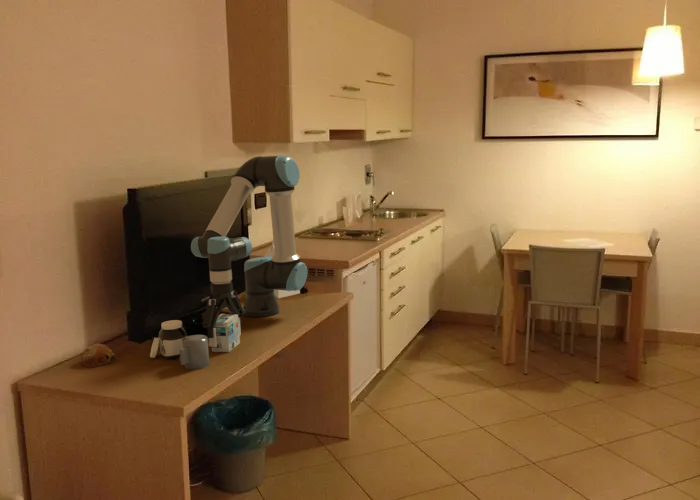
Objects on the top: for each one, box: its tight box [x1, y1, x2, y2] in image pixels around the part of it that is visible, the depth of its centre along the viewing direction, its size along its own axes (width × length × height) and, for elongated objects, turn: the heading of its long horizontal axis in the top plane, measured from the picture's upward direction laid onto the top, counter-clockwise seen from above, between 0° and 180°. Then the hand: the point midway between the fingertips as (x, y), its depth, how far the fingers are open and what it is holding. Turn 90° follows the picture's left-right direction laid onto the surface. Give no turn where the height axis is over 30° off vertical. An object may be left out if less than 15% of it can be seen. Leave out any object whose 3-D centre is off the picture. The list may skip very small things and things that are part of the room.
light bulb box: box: [211, 313, 241, 353], centre depth 228 cm, size 11×7×11 cm, turn 168°
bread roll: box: [80, 343, 115, 368], centre depth 219 cm, size 10×10×8 cm
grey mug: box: [179, 334, 210, 370], centre depth 211 cm, size 11×8×9 cm
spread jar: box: [149, 319, 188, 360], centre depth 221 cm, size 12×11×12 cm
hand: (225, 340), depth 229 cm, fingers open, 13 cm apart
